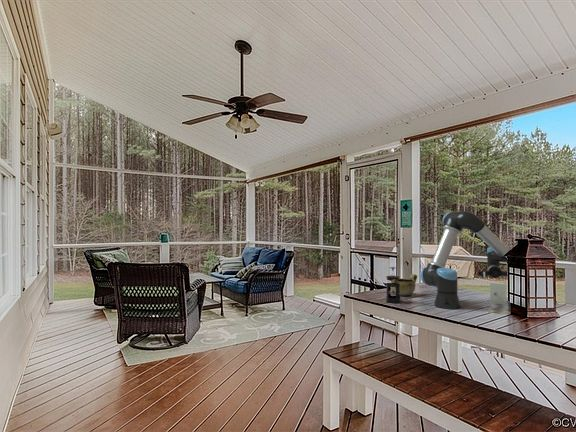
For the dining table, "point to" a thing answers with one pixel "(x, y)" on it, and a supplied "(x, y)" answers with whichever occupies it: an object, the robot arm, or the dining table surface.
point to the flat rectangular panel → (498, 293)
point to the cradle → (499, 308)
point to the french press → (393, 298)
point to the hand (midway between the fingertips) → (496, 276)
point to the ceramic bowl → (405, 285)
